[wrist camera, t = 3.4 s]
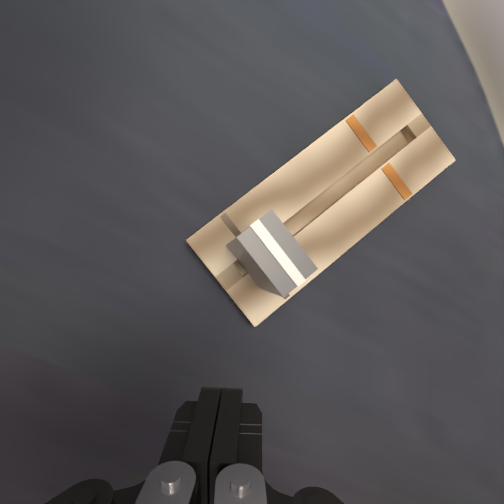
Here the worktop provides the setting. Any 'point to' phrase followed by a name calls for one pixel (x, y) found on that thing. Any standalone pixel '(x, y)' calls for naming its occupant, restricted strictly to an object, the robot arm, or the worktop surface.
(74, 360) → the worktop surface
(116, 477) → the worktop surface
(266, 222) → the fader knob
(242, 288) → the fader board
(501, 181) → the worktop surface
